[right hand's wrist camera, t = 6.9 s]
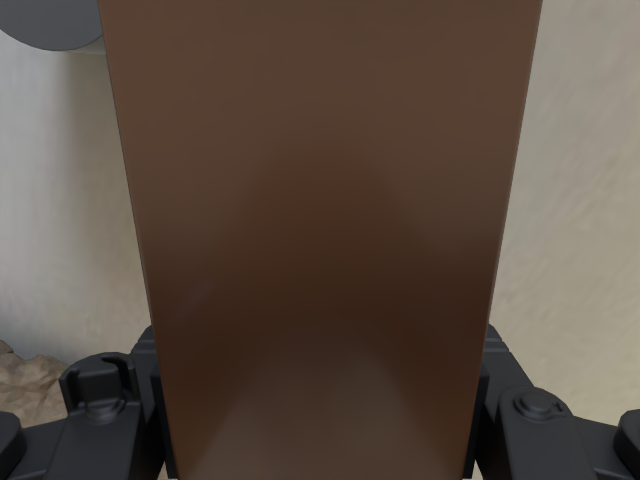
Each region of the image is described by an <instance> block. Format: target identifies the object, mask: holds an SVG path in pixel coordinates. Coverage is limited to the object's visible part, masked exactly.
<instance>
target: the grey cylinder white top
mask: <svg viewBox="0 0 640 480" xmlns="http://www.w3.org/2000/svg"><path fill="white" fill-rule="evenodd" d="M0 29H1V30H2V31H3V32H5V33H6V34H8V35H9V36H11V37H13V38H14V39H16V40H18V41H20V42H22V43H24V44H27V45H29V46H32V47H35V48H39V49H42V50H49V51H59V52H72V53H85V54H98V55H106V50H105V44H104V38H103V32H102V26H101V20H100V14H99V8H98V2H97V0H0Z"/></svg>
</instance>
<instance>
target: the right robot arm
mask: <svg viewBox="0 0 640 480" xmlns="http://www.w3.org/2000/svg"><path fill="white" fill-rule="evenodd" d="M58 381H59V385H60V389H61V392H62V396H63V399H64V403H65V407H66V410H67V414H68V415H67V417H66V418H63V419H60V420H56V421H52V422H48V423H44V424H39V425H35V426H31V427H26V428H22V425H21V422H20V419H19V418H18V417H17V416H16V415H15V414H14V413H11V412H5V411H0V480H157V478H158V476H159V473H160V471H161V468H162V466H163V463H164V461H165V465H166V470H167V476H168V479H178V478H177V473H176V467H175V461H174V455H173V449H172V443H171V437H170V431H169V425H168V419H167V413H166V407H165V401H164V395H163V389H162V383H161V377H160V371H159V365H158V359H157V353H156V347H155V342H154V336H153V330H152V325H150V326H149V327H147V328H146V329H145V331H144V332H143V334H142V335H141V337H140V338H139V340H138V343H136V344H135V346H134V347H133V349H132V350H131V354H129V355H127V354H123V353H119V352H104V353H100V354H96V355H92V356H89V357H87V358H84V359H82V360H80V361H78V362H76V363H74V364H73V365H72V366H70V367H69V368H67V369H66V370H65V371H64V372H63V373H62V375H61V376H60V377H59V379H58ZM475 459H476V462H477V464H478V467H479V469H480V472H481V474H482V477H483V480H640V409H636V410H630V411H627V412H626V413H624V414H623V415H622V416H621V418H620V421H619V424H618V427H617V426H613V425H608V424H604V423H600V422H595V421H591V420H586V419H583V418H579V417H576V416H573V414H572V413H571V411H570V410H569V408H568V407H567V405H566V404H565V403H564V402H563V401H561V400H560V399H559V398H558V397H557V396H555V395H553V394H551V393H549V392H547V391H545V390H543V389H541V388H537V387H534V385H533V384H532V382H531V381H530V379H529V378H528V377H527V375H526V374H525V372H524V371H523V369H522V368H521V366H520V365H519V363H518V362H517V360H516V359H515V357H514V356H513V355H512V353H511V352H509V349H508V347H507V346H506V344H505V343H504V342H502V338H501V337H500V335H499V334H498V333H497V331H496V330H495V328H494V327H493V326H492V325H490V324H489V323H488V328H487V334H486V340H485V346H484V352H483V358H482V364H481V370H480V376H479V382H478V388H477V394H476V400H475V406H474V412H473V417H472V423H471V429H470V435H469V441H468V447H467V453H466V459H465V465H464V471H463V477H462V479H472V474H473V469H474V463H475Z"/></svg>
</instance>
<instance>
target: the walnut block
mask: <svg viewBox="0 0 640 480" xmlns="http://www.w3.org/2000/svg"><path fill="white" fill-rule="evenodd" d="M542 1H543V0H97V2H98V8H99V14H100V20H101V26H102V32H103V38H104V44H105V50H106V56H107V62H108V68H109V74H110V80H111V86H112V91H113V97H114V103H115V109H116V115H117V121H118V127H119V133H120V139H121V145H122V151H123V157H124V163H125V169H126V175H127V181H128V187H129V193H130V199H131V205H132V211H133V216H134V222H135V228H136V234H137V240H138V246H139V252H140V258H141V264H142V270H143V276H144V282H145V288H146V294H147V300H148V306H149V312H150V318H151V324H152V330H153V336H154V342H155V347H156V353H157V359H158V365H159V371H160V377H161V383H162V389H163V395H164V401H165V407H166V413H167V419H168V425H169V431H170V437H171V443H172V449H173V455H174V461H175V467H176V473H177V478H178V480H462V477H463V471H464V465H465V459H466V453H467V447H468V441H469V435H470V429H471V423H472V417H473V412H474V406H475V400H476V394H477V388H478V382H479V376H480V370H481V364H482V358H483V352H484V346H485V340H486V334H487V328H488V322H489V316H490V310H491V304H492V299H493V293H494V287H495V281H496V275H497V269H498V263H499V257H500V251H501V245H502V239H503V233H504V227H505V221H506V215H507V209H508V203H509V197H510V191H511V186H512V180H513V174H514V168H515V162H516V156H517V150H518V144H519V138H520V132H521V126H522V120H523V114H524V108H525V102H526V96H527V90H528V84H529V78H530V73H531V67H532V61H533V55H534V49H535V43H536V37H537V31H538V25H539V19H540V13H541V7H542Z"/></svg>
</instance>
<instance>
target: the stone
mask: <svg viewBox="0 0 640 480" xmlns="http://www.w3.org/2000/svg"><path fill="white" fill-rule="evenodd" d="M69 367H70V366H68V365H65V364H63V363H61V362H59V361H57V360H56V359H55V358H53V357H50V356H43V355H37V356H35V357H34V358H32V359H30V360H23V359H22V358H20V357H19V356H18V355H15V354H14V353H13V349H12V348H11V347H10V346H8V345H7V344H6V343H5V342H4V341H2V340H0V411H5V412H11V413H14V414H15V415H16V416H17V417H18V418H19V419H20V422H21V425H22V428H26V427H31V426H35V425H39V424H44V423H48V422H52V421H56V420H60V419H63V418H66V417H67V415H68V414H67V410H66V407H65V403H64V399H63V396H62V392H61V389H60V385H59V381H58V379H59V377H60V376H61V375H62V373H63V372H64V371H65V370H66V369H67V368H69Z"/></svg>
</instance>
